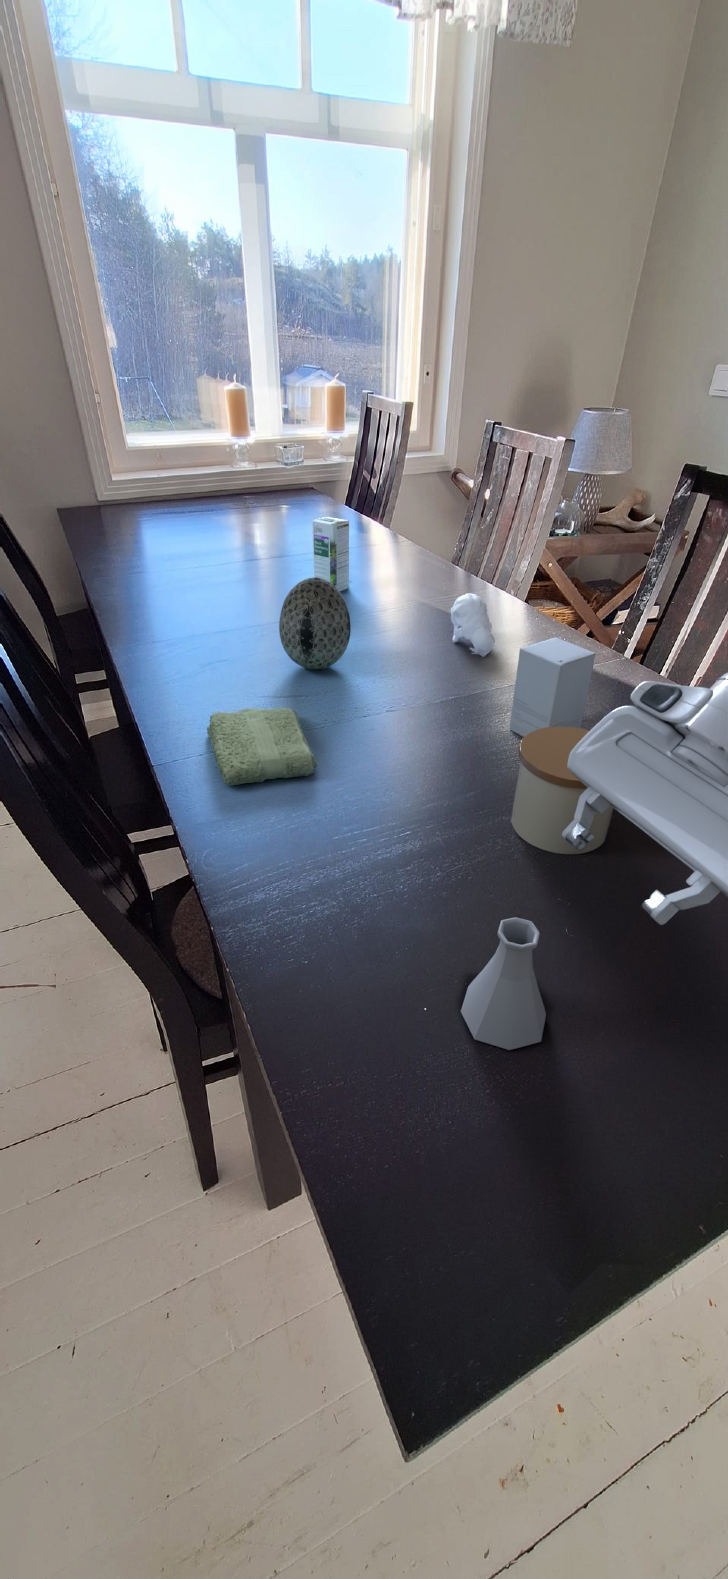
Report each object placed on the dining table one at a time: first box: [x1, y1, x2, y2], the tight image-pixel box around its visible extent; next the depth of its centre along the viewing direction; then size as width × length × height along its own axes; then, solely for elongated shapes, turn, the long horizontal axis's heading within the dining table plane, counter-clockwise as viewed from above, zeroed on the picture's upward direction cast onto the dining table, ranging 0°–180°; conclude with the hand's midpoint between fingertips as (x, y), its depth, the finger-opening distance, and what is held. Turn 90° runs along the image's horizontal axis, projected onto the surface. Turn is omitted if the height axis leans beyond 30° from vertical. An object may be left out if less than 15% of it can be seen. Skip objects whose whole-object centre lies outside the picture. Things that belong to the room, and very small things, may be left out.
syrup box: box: [312, 516, 350, 593], centre depth 147 cm, size 6×6×14 cm
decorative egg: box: [278, 576, 352, 671], centre depth 113 cm, size 12×12×15 cm
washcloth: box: [206, 707, 319, 787], centre depth 93 cm, size 13×18×3 cm
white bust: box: [450, 592, 496, 658], centre depth 123 cm, size 6×8×12 cm
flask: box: [460, 917, 547, 1051], centre depth 56 cm, size 7×7×10 cm
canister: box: [510, 726, 615, 855], centre depth 79 cm, size 12×12×10 cm
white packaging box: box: [508, 636, 597, 738], centre depth 96 cm, size 7×7×13 cm
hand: (607, 877), depth 55 cm, fingers open, 8 cm apart
